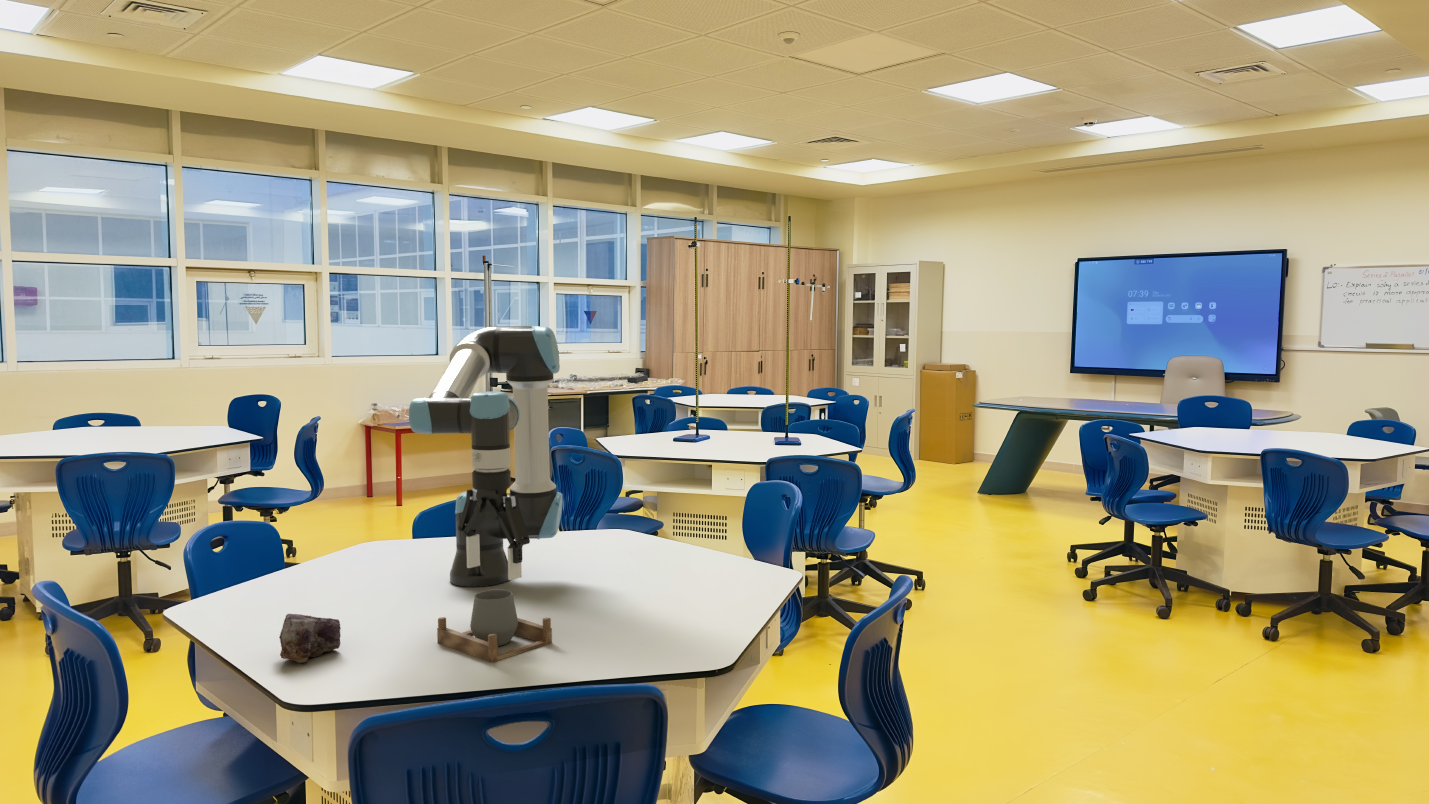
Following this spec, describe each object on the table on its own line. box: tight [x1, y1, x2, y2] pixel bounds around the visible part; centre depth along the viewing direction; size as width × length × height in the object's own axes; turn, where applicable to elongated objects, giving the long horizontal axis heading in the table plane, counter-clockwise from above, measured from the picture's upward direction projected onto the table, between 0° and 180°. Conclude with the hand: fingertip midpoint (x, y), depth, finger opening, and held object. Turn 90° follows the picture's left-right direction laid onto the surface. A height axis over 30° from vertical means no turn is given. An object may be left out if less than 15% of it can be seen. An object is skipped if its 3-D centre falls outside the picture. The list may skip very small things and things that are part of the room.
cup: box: [469, 589, 519, 647], centre depth 189 cm, size 10×9×10 cm
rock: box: [279, 613, 341, 664], centre depth 181 cm, size 12×9×10 cm
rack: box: [436, 616, 553, 663], centre depth 189 cm, size 18×15×5 cm
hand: (493, 572), depth 188 cm, fingers open, 13 cm apart
